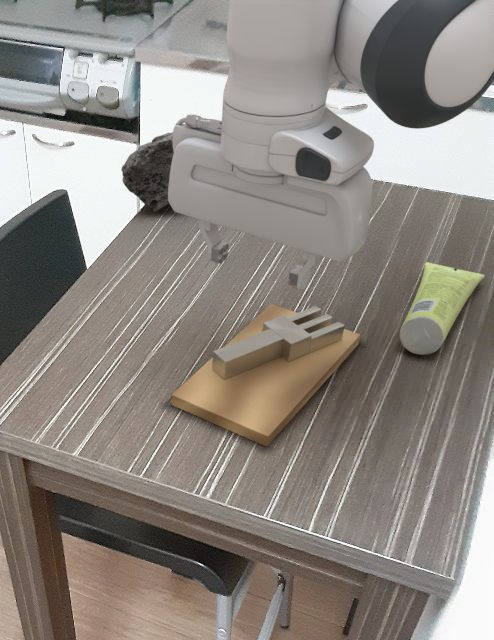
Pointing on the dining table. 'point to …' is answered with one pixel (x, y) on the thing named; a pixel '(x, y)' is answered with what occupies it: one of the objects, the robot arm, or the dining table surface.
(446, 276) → the tube
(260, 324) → the board
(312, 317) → the fork
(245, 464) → the dining table surface
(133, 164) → the stone
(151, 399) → the dining table surface
